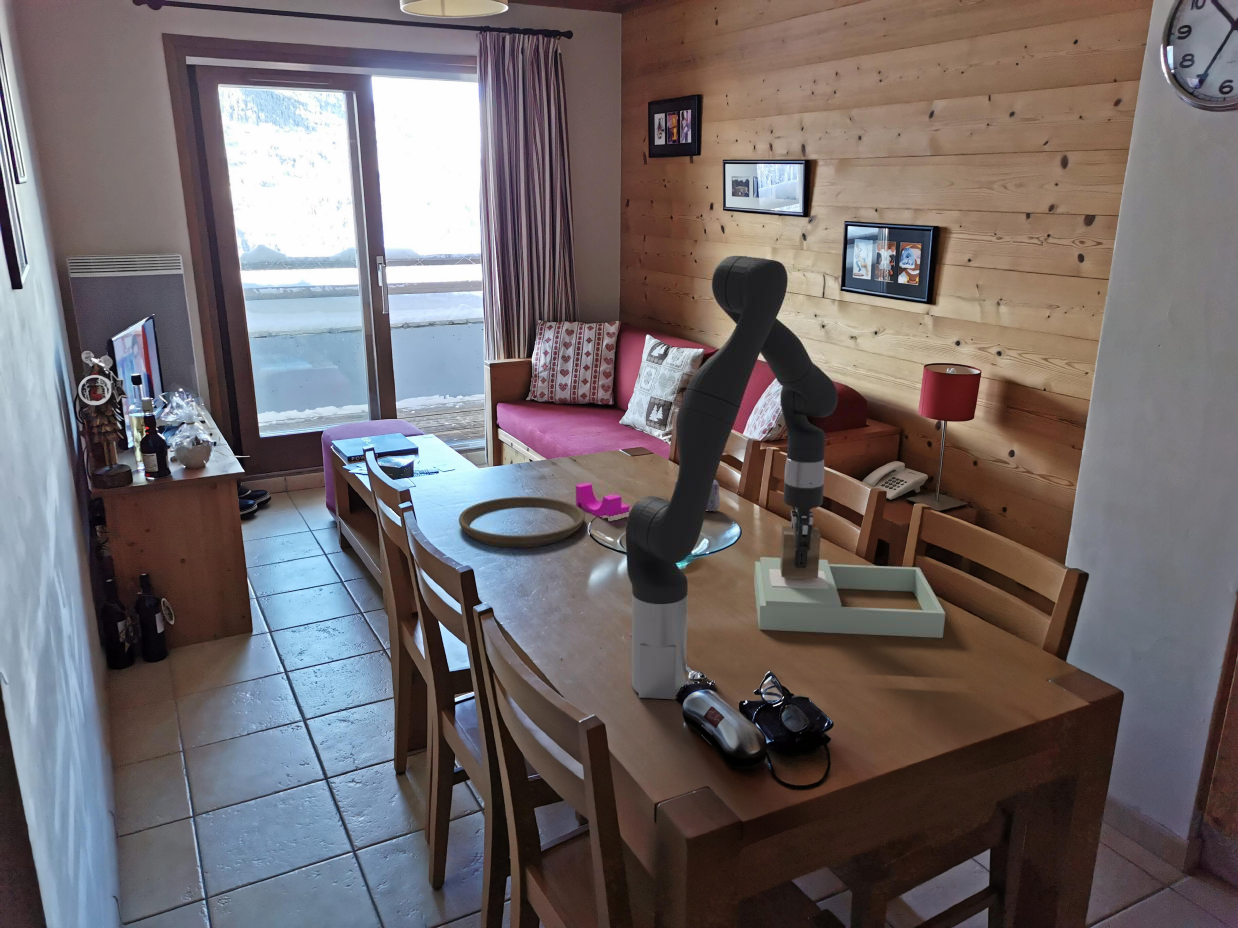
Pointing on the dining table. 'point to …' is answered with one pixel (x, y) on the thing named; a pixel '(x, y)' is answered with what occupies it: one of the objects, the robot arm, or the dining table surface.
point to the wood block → (789, 555)
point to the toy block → (599, 502)
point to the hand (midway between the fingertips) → (799, 562)
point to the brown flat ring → (522, 540)
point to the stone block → (713, 497)
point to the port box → (820, 605)
